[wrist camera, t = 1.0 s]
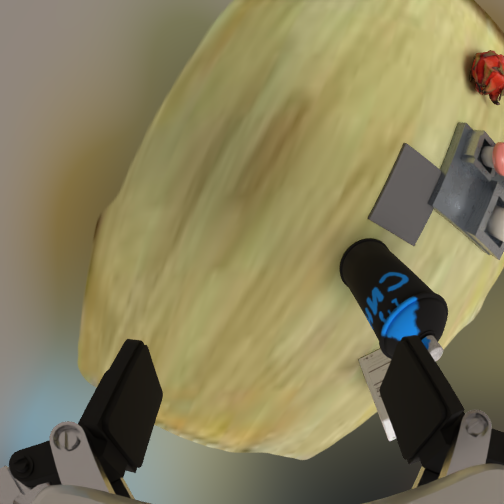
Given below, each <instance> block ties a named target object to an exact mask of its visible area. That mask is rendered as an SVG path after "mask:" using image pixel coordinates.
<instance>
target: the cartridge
mask: <svg viewBox="0 0 504 504" xmlns="http://www.w3.org/2000/svg"><path fill="white" fill-rule="evenodd" d="M484 232H486V233H488V234H490V235H492V236H494V237H495V238H497V239H499V240H501V241H503V242H504V208H502V207H500V206H497V205H495V207H494V210H493V212H492V215H491V217H490V219H489V221H488V224H487V226H486V228H485V230H484Z"/></svg>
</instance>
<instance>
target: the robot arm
mask: <svg viewBox="0 0 504 504" xmlns="http://www.w3.org/2000/svg"><path fill="white" fill-rule="evenodd" d="M380 396H381V398H382V401H383V403H384V406H385V409H386V411H387V414H388V416H389V419H390V422H391V424H392V427H393V430H394V433H395V435H396V438H397V441H398V444H399V447H400V449H401V452H402V456H403V458H404V459H407V460H408V463H409V464H412V463H415V462H418V461H421V464H422V467H421V470H420V472H419V474H418V477H417V479H416V481H415V483H414V485H413V487H412V489H411V490H408V491H405V492H402V493H399V494H396V495H393V496H390V497H387V498H383V499H379V500H375V501H372V502H368V503H364V504H504V432H501V431H498V430H495V429H492V425H491V421H490V418H489V417H488V416H487V415H486V414H485V413H484V412H482V411H480V410H471V411H469V412H467V413H466V414H465V413H464V412H463V411H464V408H463V406H462V404H461V403H460V401H459V399H458V398H457V396H456V394H455V392H454V391H453V389H452V387H451V386H450V384H449V383H448V381H447V379H446V378H445V376H444V375H443V373H442V371H441V370H440V368H439V366H438V365H437V363H436V362H435V360H434V359H433V357H432V356H431V354H430V353H429V351H428V350H427V348H426V347H425V345H424V344H423V342H422V341H421V339H420V338H419V337H418V336H417V335H412V336H405V337H403V338H402V339H401V341H399V342H398V343H397V346H396V349H395V351H394V354H393V357H392V359H391V362H390V364H389V367H388V369H387V372H386V374H385V377H384V379H383V381H382V384H381V386H380ZM162 397H163V392H162V389H161V386H160V383H159V380H158V377H157V374H156V371H155V368H154V365H153V362H152V359H151V356H150V352H149V349H148V346H147V345H144V343H143V342H142V341H140V340H131V339H127V340H126V341H125V342H124V344H123V346H122V348H121V349H120V351H119V353H118V354H117V356H116V358H115V360H114V362H113V363H112V365H111V367H110V369H109V370H108V371H106V373H105V374H104V376H103V377H102V379H101V381H100V383H99V385H98V387H97V388H96V390H95V393H94V394H93V396H92V398H91V400H90V402H89V403H88V405H87V407H86V409H85V411H84V413H83V415H82V417H81V419H80V421H79V423H78V424H76V423H74V422H69V421H67V422H62V423H60V424H58V425H57V426H55V427H54V428H53V430H52V431H51V434H50V440H49V441H46V442H44V443H41V444H38V445H35V446H31V447H28V448H25V449H22V450H19V451H17V452H15V453H14V454H13V455H12V456H11V458H10V461H9V467H7V466H4V467H2V468H1V469H0V504H151V503H146V502H141V501H138V500H135V498H134V497H133V495H132V493H131V491H130V490H129V488H128V486H127V484H126V483H125V481H124V479H123V476H124V473H125V470H126V471H130V472H134V473H136V470H137V467H138V468H139V467H141V466H142V463H143V460H144V456H145V453H146V450H147V446H148V443H149V440H150V436H151V433H152V430H153V426H154V423H155V420H156V417H157V414H158V411H159V407H160V404H161V401H162Z"/></svg>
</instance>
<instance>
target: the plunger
mask: <svg viewBox="0 0 504 504" xmlns="http://www.w3.org/2000/svg"><path fill="white" fill-rule="evenodd" d="M481 159H482V162H483V164H484V165H485V166H487V167H492V168H495V170H496V172H497V173H498V174H499V175H502V176H504V143H502V142H498V143H497V144H496V145H495V146H494V147H490V146H484V147H483V148H482V151H481Z"/></svg>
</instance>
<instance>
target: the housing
mask: <svg viewBox="0 0 504 504" xmlns="http://www.w3.org/2000/svg"><path fill="white" fill-rule="evenodd" d="M495 145H496V144H495V143H494V142H493V140H492V139H491V138H490V137H489V136H488V134H487V133H486V132H485V131H481V130H472V128H471V127H470V126H469V125H468V124H467V123H458V124H457V127H456V130H455V133H454V136H453V139H452V141H451V144H450V147H449V149H448V152H447V154H446V157H445V159H444V162H443V164H442V167H441V169H440V171H442V172H441V175H440V177H439V179H438V182H437V184H436V186H435V188H434V190H433V193H432V195H431V197H430V199H429V201H428V203H427V204H428V205H430V206H431V207H432V208H434V210H435V211H437V212H438V213H439V214H440V215H442V216H443V217H444V218H445V219H447V220H448V221H449V222H450V223H451V224H453V225H454V226H455V227H456V228H457V229H459V230H460V231H461V232H462V233H463V234H464V235H466V236H467V237H468V238H469V239H470V240H471V241H472V242H473V243H475V244H476V245H477V246H478V247H479V248H480V249H481V250H482V251H483V252H485V253H487V254H488V255H489V254H490V255H492V256H494V257H495V258H497V259H498V260H500V258H501V256H502V254H503V252H504V242H503V241H501V240H499V239H497V238H495V237H494V236H492V235H490V234H488V233H486V232H484V230H485V228H486V226H487V224H488V221H489V219H490V217H491V215H492V212H493V210H494V207H495V205H497V206H500V207H502V208H504V176H502V175H499V174H498V173H497V172H496V170H495V168H492V167H487V166H485V165H484V164H483V162H482V159H481V151H482V148H483V147H484V146H490V147H494V146H495Z"/></svg>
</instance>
